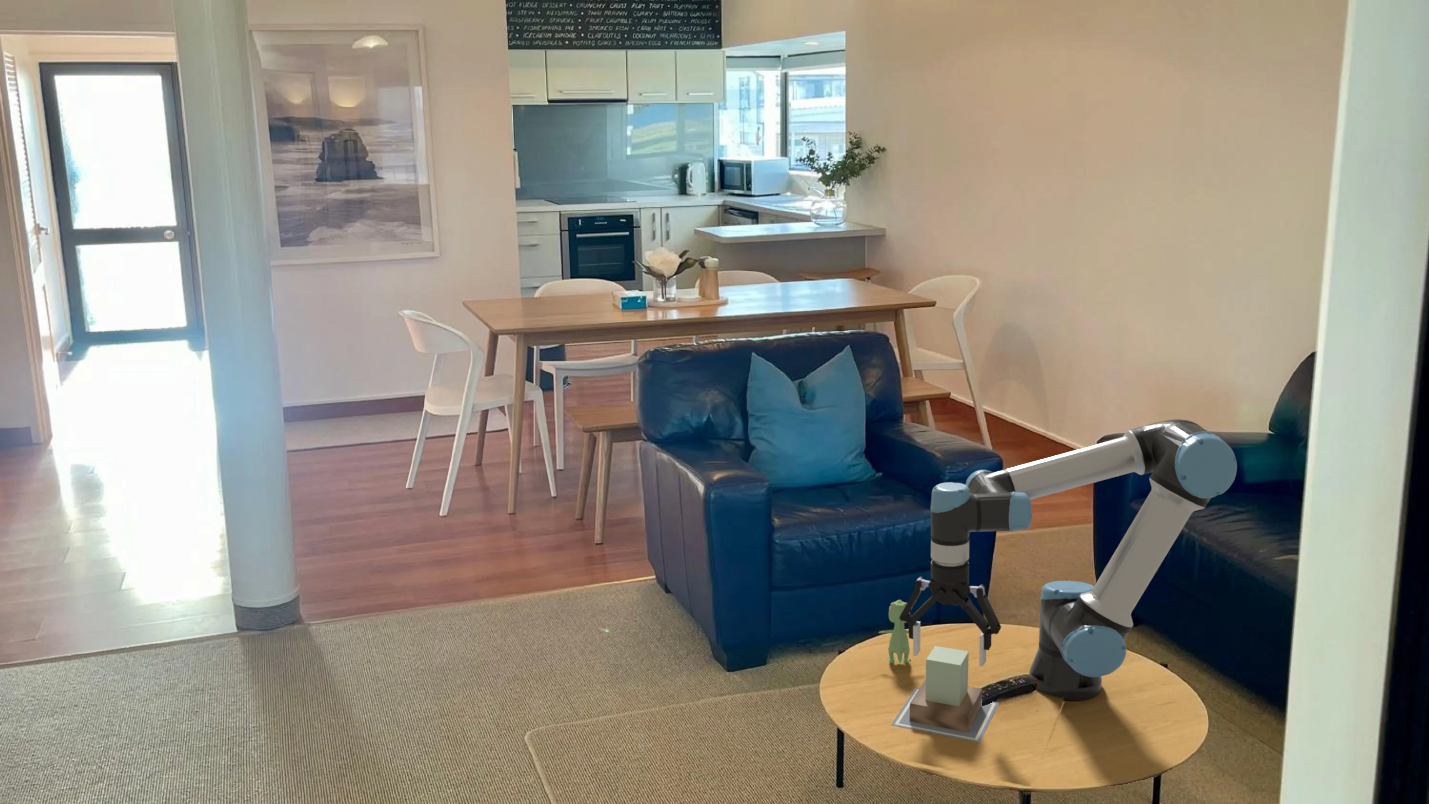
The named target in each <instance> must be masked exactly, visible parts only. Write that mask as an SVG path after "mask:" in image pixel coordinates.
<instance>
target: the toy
mask: <svg viewBox="0 0 1429 804" xmlns="http://www.w3.org/2000/svg"><path fill="white" fill-rule="evenodd" d="M906 604H907V602H904V601H902V599H898V600H896V601H893V602H891V603H890V606H889V607H888V619H889V621H890V622H891V623H893V624H894V627H893V629H889V630H880V631H878V634H891V636H890V639H889V643H888V656H889V657H887V661H888V662H889V663H891V664H894V663H895V661H896V660H898V662H899V664H901V663H902V662H903V663H904V664H908V663H910V662H911V658H909V656H910V652H911V651H910V650H911V649H910V645H909V644H910V643H909V636H908V635H909V629H907V630H906V629H905V624H907V622H906V621H901V620H900V619H899V617H900V615H901V613H902V611H903V610H904V608H905V606H906ZM909 614H910V615H911V612H910V613H909ZM894 654H895V655H896V657H897V658H896V657H894Z"/></svg>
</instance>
